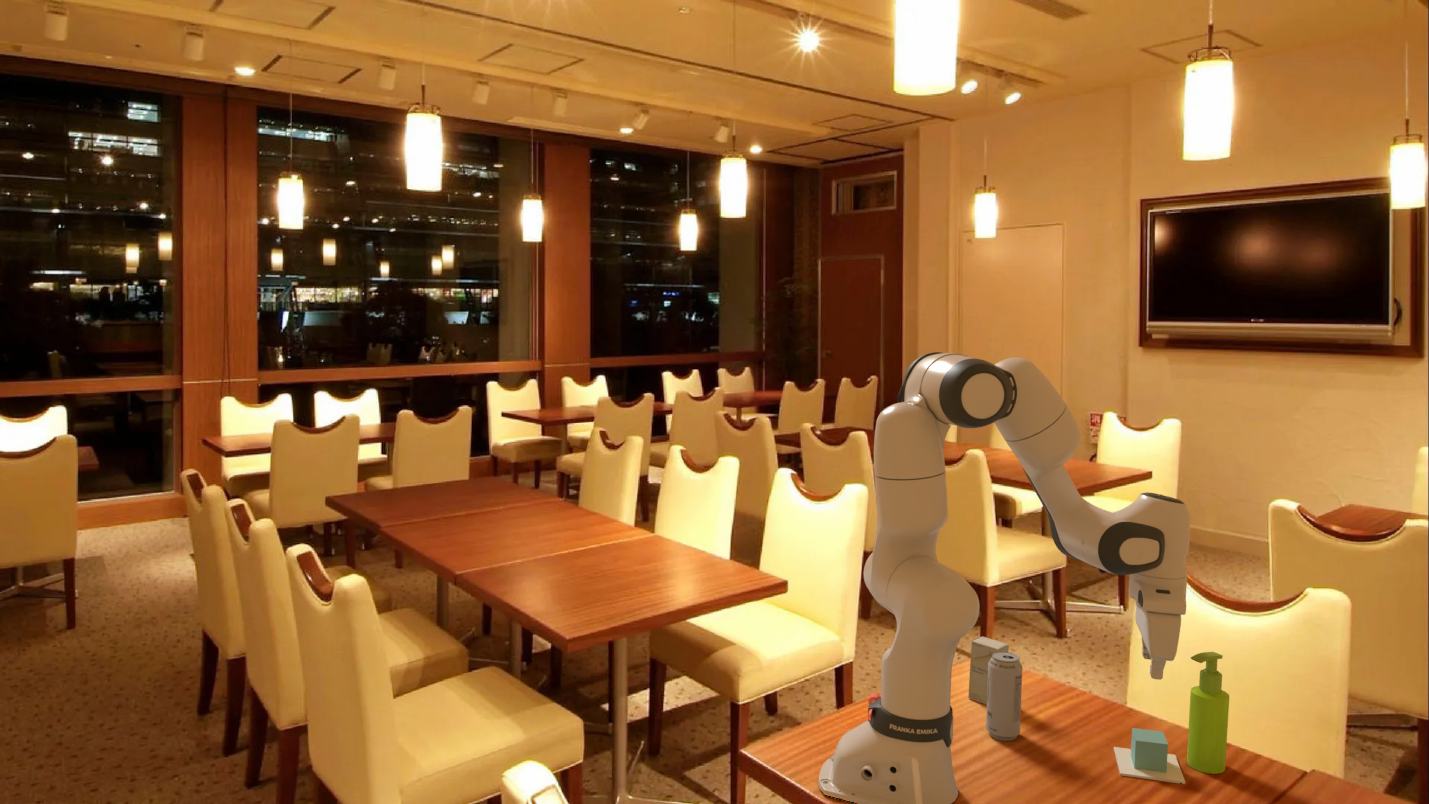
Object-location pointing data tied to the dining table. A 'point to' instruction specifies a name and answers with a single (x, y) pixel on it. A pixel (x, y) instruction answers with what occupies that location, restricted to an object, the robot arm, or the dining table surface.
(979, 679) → the skincare box
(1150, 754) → the block
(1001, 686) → the energy drink can
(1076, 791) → the dining table surface
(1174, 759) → the coaster
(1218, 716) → the soap dispenser
